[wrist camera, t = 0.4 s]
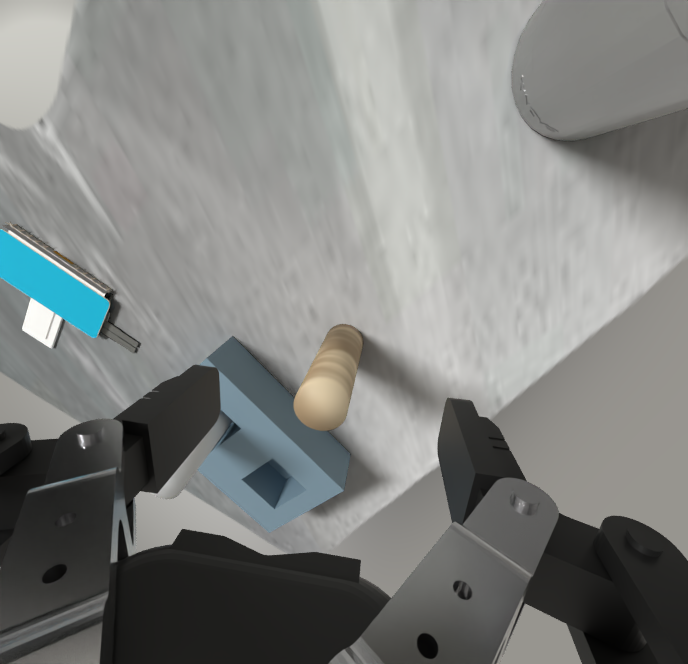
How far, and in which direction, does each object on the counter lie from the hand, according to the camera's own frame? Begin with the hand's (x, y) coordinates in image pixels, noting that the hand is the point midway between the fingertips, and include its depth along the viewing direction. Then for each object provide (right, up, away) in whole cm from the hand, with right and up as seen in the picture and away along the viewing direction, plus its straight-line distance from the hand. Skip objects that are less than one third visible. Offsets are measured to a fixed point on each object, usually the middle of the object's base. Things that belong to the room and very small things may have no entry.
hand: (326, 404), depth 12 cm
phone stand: (-30, +6, +24) cm, 39 cm away
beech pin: (+1, +2, +21) cm, 21 cm away
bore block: (-9, -8, +26) cm, 28 cm away
